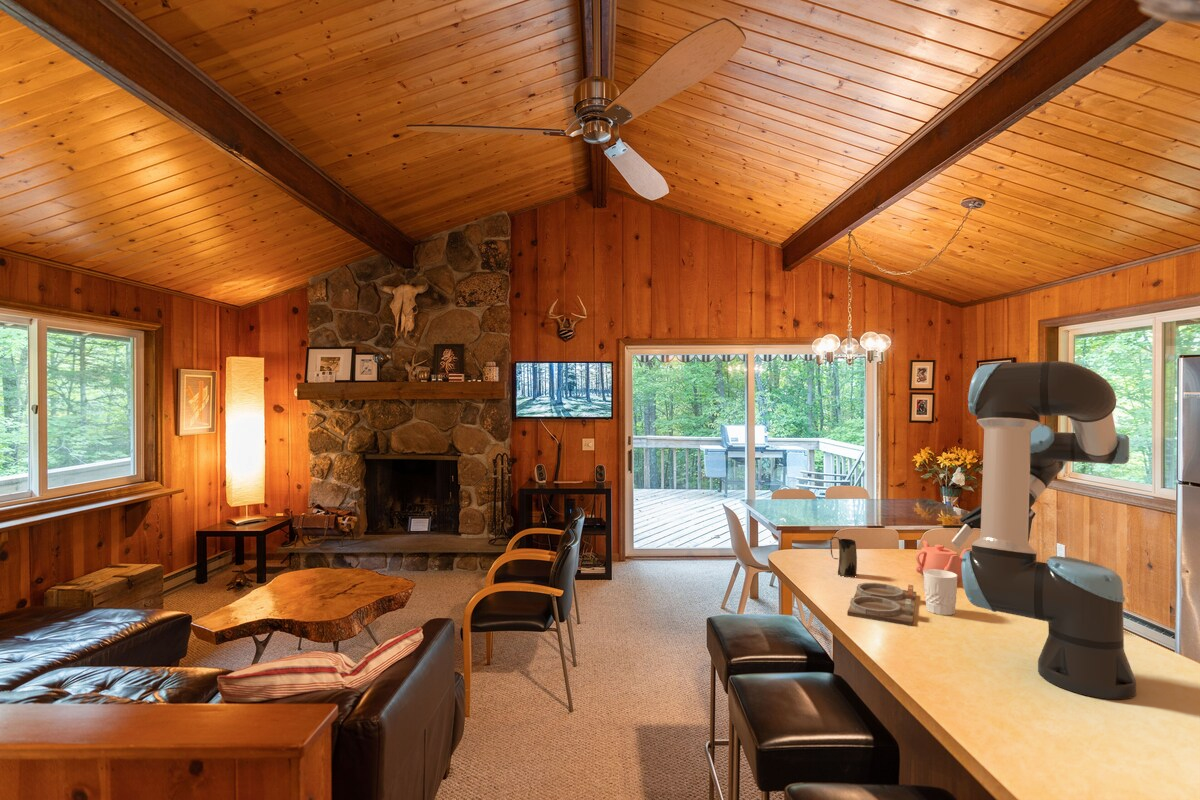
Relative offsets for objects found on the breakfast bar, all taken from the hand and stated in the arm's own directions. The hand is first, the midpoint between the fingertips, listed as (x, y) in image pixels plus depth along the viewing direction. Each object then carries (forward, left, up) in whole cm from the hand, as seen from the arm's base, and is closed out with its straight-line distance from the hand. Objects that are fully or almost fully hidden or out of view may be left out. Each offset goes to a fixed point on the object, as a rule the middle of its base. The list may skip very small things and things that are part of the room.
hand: (974, 550), depth 162 cm
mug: (+16, +35, -16) cm, 42 cm away
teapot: (+25, +7, -16) cm, 30 cm away
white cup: (-7, +8, -16) cm, 19 cm away
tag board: (-9, +22, -15) cm, 28 cm away
